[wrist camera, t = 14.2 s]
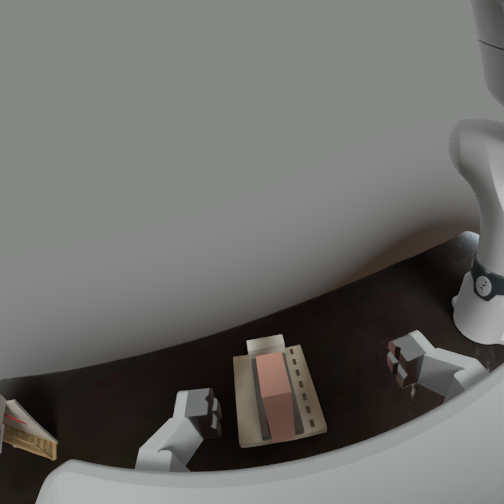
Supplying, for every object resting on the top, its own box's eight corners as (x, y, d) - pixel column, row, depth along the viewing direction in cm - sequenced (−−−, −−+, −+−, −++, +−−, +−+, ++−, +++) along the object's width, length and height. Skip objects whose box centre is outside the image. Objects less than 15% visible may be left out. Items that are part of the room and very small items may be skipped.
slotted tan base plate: (300, 350, 47) (299, 330, 45) (326, 432, 31) (328, 416, 29) (234, 362, 47) (229, 343, 44) (241, 447, 31) (234, 434, 28)
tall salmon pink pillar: (287, 404, 35) (281, 351, 30) (295, 438, 29) (291, 391, 24) (267, 408, 35) (255, 356, 30) (273, 442, 29) (261, 397, 24)
